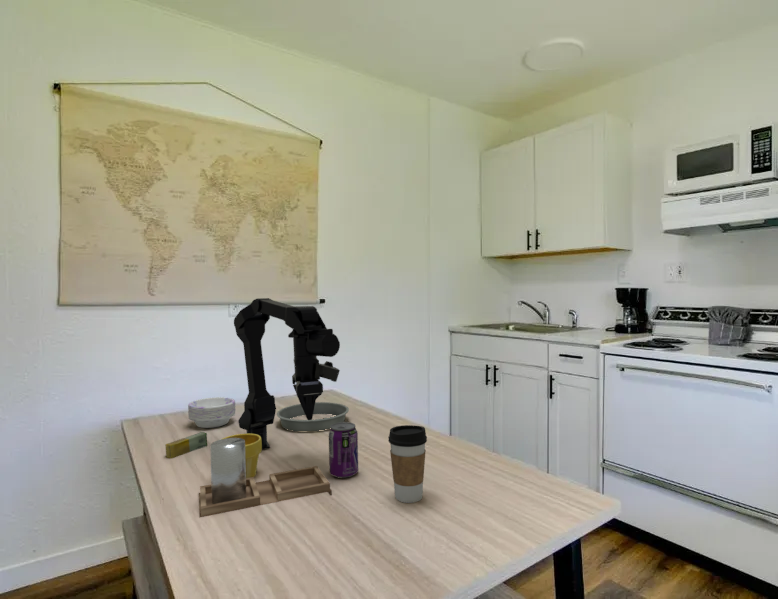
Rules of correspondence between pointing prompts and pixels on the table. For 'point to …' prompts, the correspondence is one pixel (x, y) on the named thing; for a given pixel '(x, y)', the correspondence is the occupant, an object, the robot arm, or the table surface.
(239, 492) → the seated billet
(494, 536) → the table surface
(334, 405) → the cake pan
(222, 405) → the paper bowls
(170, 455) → the medication box
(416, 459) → the coffee cup
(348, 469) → the beverage can
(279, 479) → the wooden tray
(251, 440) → the plant pot
